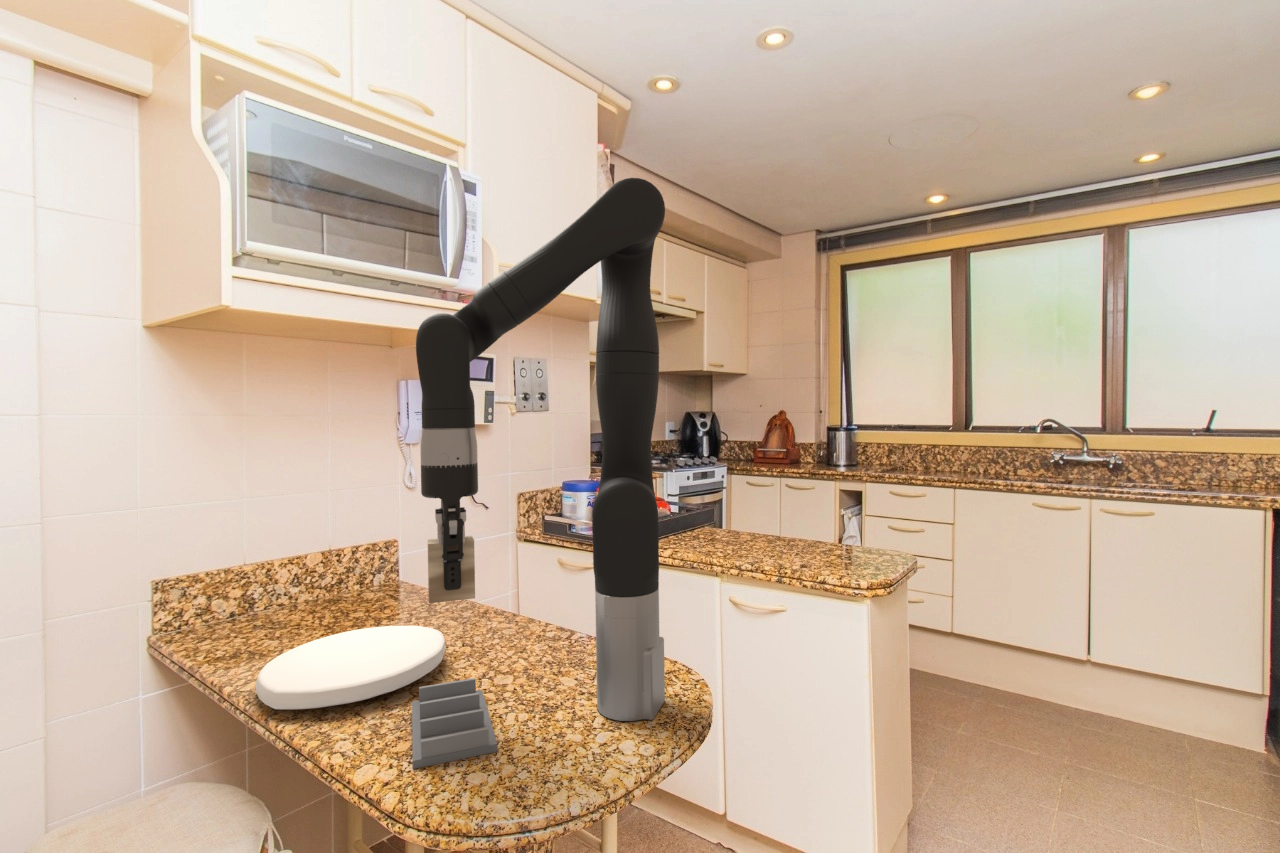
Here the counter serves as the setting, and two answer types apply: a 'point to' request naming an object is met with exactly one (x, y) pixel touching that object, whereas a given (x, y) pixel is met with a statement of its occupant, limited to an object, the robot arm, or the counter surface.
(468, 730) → the rack
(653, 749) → the counter surface
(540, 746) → the counter surface
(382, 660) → the plate
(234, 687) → the counter surface
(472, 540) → the block
